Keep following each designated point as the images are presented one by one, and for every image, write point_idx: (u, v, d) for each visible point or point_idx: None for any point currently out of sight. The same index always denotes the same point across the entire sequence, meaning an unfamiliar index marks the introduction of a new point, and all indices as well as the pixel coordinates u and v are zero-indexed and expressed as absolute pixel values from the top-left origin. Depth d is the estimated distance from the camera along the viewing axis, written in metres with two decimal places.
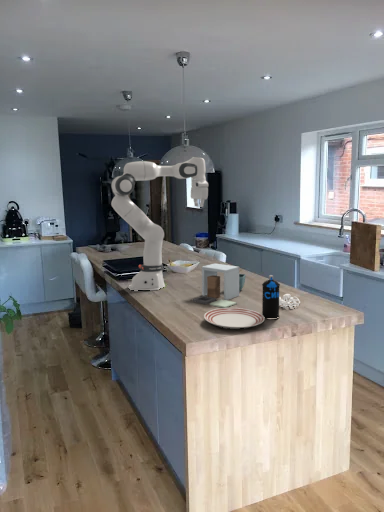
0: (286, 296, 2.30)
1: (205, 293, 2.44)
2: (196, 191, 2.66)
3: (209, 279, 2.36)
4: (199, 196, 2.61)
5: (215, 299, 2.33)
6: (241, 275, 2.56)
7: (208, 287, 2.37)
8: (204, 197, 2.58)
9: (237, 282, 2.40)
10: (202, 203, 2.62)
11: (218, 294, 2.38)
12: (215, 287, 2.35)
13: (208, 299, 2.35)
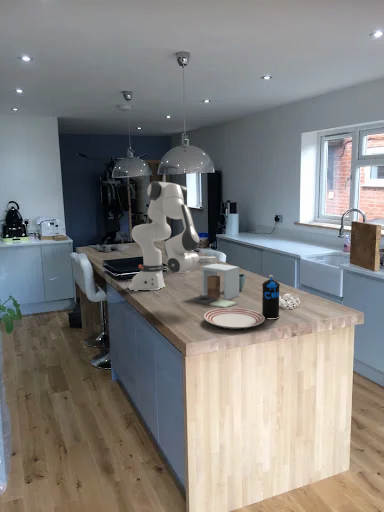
0: (286, 296, 2.30)
1: (205, 293, 2.44)
2: None
3: (209, 279, 2.36)
4: None
5: (215, 299, 2.33)
6: (241, 275, 2.56)
7: (208, 287, 2.37)
8: None
9: (237, 282, 2.40)
10: None
11: (218, 294, 2.38)
12: (215, 287, 2.35)
13: (208, 299, 2.35)
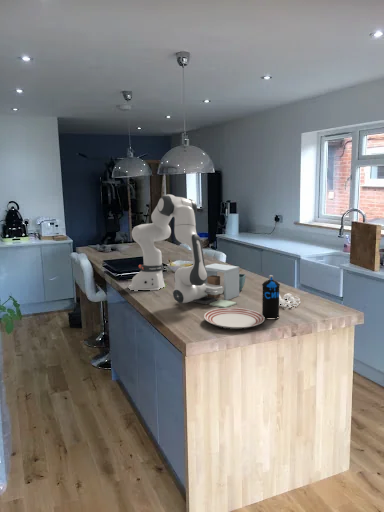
0: (287, 296, 2.31)
1: None
2: None
3: (209, 279, 2.36)
4: None
5: (215, 299, 2.33)
6: (241, 275, 2.56)
7: None
8: None
9: (237, 282, 2.40)
10: None
11: (218, 294, 2.38)
12: None
13: (208, 299, 2.35)
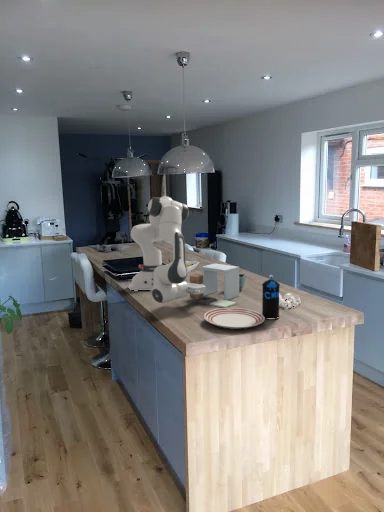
0: (287, 295, 2.31)
1: (205, 293, 2.44)
2: None
3: (192, 278, 2.25)
4: None
5: (215, 299, 2.33)
6: (241, 275, 2.56)
7: None
8: None
9: (237, 282, 2.40)
10: None
11: (201, 294, 2.27)
12: None
13: (208, 299, 2.35)
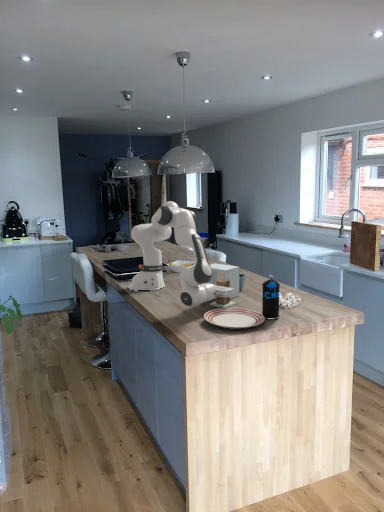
0: (288, 295, 2.31)
1: None
2: None
3: (218, 283, 2.23)
4: None
5: (215, 299, 2.33)
6: (241, 275, 2.56)
7: None
8: None
9: (237, 282, 2.40)
10: None
11: (228, 299, 2.25)
12: None
13: None
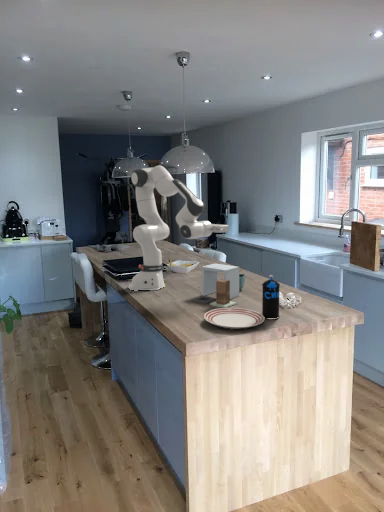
0: (289, 295, 2.32)
1: (205, 293, 2.44)
2: None
3: (218, 283, 2.23)
4: None
5: (215, 299, 2.33)
6: (241, 275, 2.56)
7: (217, 292, 2.24)
8: None
9: (237, 282, 2.40)
10: None
11: (228, 299, 2.25)
12: (224, 291, 2.22)
13: (208, 299, 2.35)
